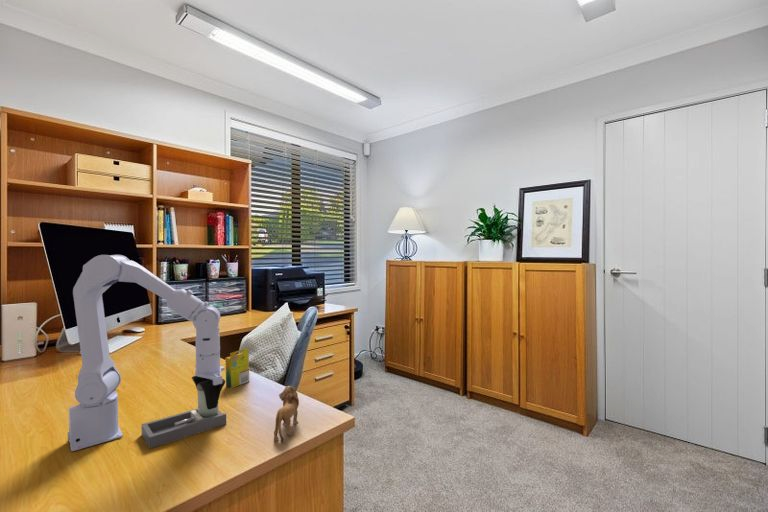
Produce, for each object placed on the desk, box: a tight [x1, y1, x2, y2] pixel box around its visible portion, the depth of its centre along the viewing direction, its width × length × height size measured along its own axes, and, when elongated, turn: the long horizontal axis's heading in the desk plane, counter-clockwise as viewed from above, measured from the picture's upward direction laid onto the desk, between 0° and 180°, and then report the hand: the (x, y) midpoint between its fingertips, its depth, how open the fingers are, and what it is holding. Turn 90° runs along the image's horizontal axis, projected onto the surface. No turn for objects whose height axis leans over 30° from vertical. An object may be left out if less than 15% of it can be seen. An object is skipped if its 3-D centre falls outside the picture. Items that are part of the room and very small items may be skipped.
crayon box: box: [224, 347, 250, 389], centre depth 123 cm, size 7×3×12 cm, turn 149°
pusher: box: [174, 409, 202, 427], centre depth 92 cm, size 6×6×2 cm
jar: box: [196, 380, 219, 418], centre depth 96 cm, size 5×5×8 cm
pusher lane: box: [141, 408, 227, 450], centre depth 92 cm, size 17×9×3 cm, turn 134°
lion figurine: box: [273, 385, 300, 444], centre depth 91 cm, size 15×5×9 cm, turn 9°
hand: (208, 405), depth 96 cm, fingers closed on jar, 5 cm apart
